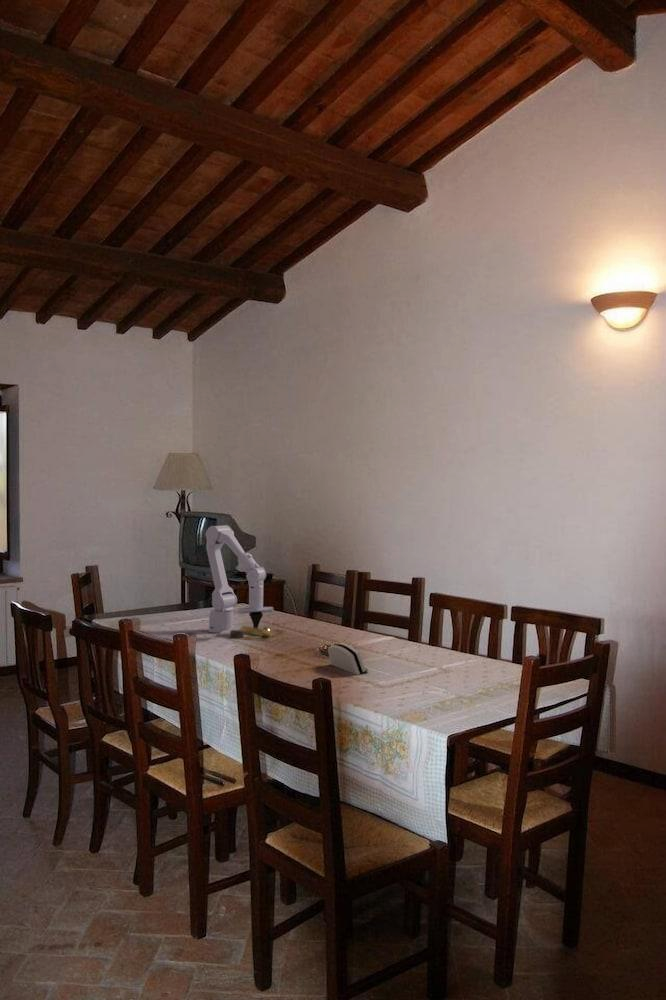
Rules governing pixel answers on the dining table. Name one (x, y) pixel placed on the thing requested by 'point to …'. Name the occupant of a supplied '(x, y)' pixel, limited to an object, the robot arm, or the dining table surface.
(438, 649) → the dining table surface
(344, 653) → the grey half-round piece
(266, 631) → the swing bar
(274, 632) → the door board
